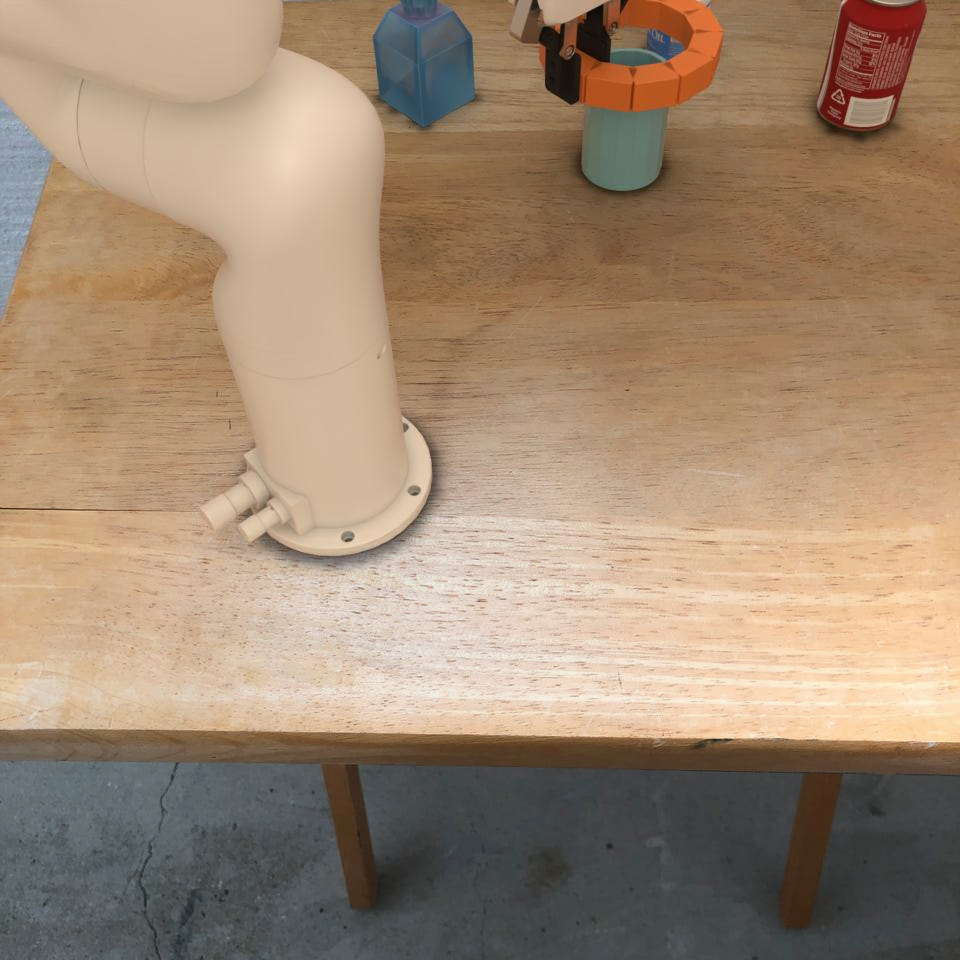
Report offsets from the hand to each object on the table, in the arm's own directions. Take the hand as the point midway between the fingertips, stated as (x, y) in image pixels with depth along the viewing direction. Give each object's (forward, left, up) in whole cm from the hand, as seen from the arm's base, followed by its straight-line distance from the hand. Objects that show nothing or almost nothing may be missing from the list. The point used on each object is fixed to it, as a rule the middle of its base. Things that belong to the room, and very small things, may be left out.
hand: (576, 86), depth 84 cm
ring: (+6, 0, 0) cm, 6 cm away
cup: (+6, 0, -10) cm, 12 cm away
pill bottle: (+21, +8, -11) cm, 25 cm away
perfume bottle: (0, +19, -11) cm, 22 cm away
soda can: (+26, -9, -11) cm, 29 cm away
